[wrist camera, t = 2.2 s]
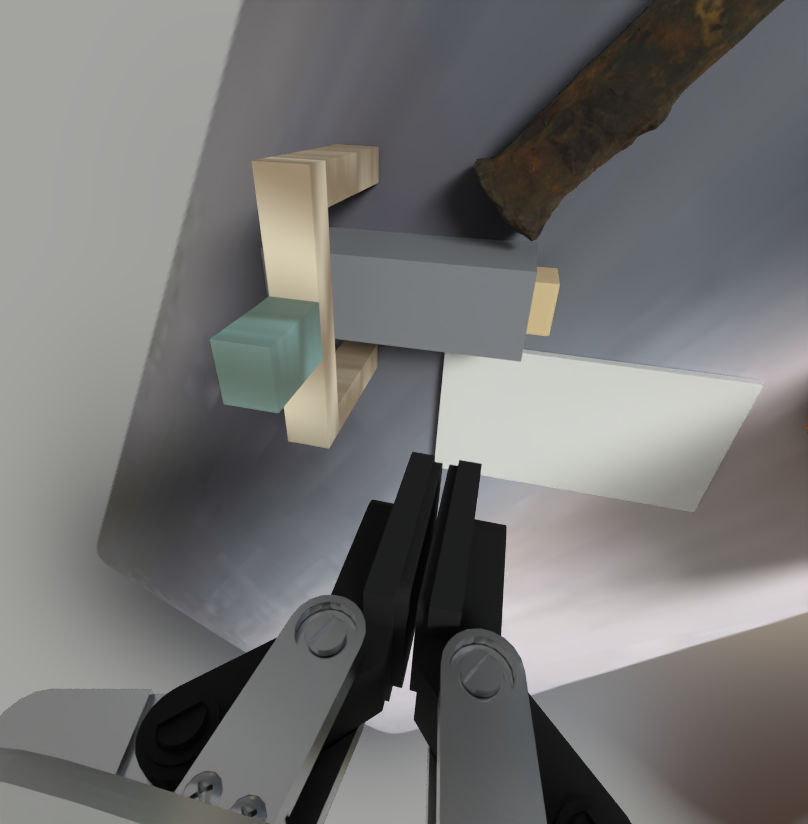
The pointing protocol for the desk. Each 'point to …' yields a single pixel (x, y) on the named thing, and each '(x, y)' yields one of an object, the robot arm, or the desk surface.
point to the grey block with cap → (439, 292)
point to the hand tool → (612, 104)
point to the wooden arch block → (299, 300)
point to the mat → (591, 424)
